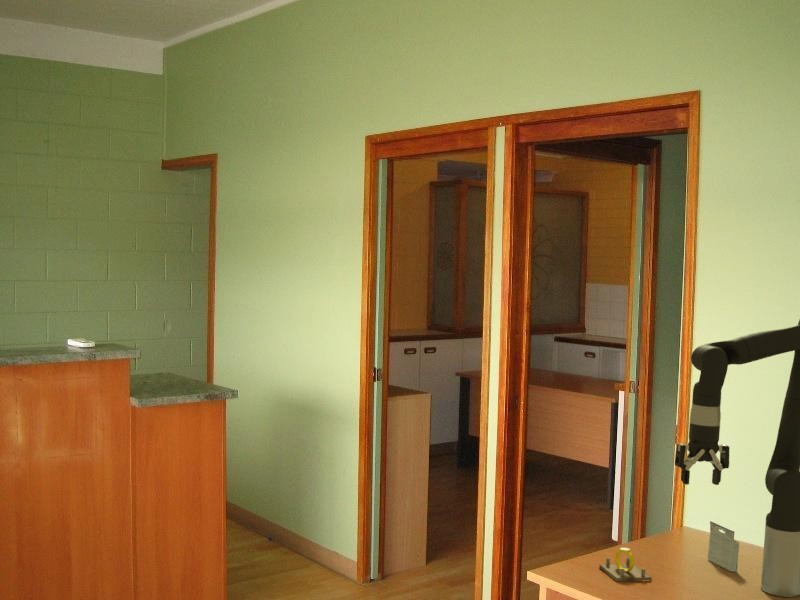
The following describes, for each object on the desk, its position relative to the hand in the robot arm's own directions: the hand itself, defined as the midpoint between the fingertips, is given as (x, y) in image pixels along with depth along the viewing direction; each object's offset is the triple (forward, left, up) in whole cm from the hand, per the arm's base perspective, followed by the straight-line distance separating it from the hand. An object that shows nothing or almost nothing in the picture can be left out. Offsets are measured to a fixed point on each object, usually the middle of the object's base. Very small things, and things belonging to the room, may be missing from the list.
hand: (700, 484), depth 242 cm
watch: (+13, -13, -27) cm, 33 cm away
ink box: (-20, -19, -28) cm, 40 cm away
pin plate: (+13, -13, -28) cm, 34 cm away
